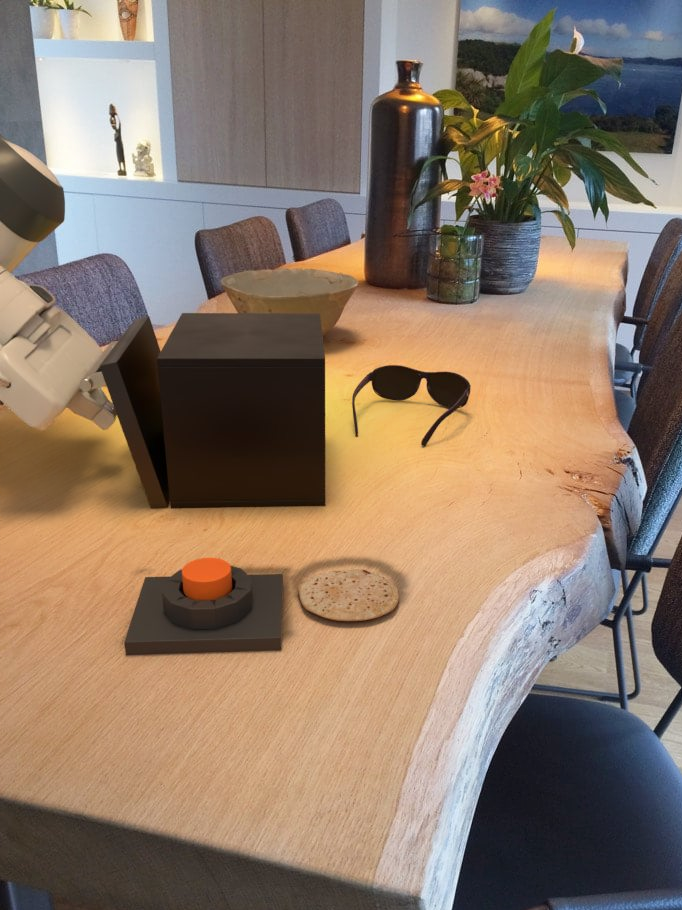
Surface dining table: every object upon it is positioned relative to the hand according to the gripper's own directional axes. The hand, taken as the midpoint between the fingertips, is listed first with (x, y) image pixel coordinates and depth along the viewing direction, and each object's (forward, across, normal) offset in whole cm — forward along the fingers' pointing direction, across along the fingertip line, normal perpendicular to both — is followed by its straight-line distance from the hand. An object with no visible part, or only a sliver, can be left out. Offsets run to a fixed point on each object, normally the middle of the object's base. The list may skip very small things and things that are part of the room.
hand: (113, 421), depth 86 cm
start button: (+11, -29, -6) cm, 31 cm away
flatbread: (+20, -27, -12) cm, 36 cm away
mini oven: (+14, -1, -6) cm, 15 cm away
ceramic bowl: (+17, +54, -10) cm, 58 cm away
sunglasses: (+27, +14, -20) cm, 36 cm away
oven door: (+7, 0, +1) cm, 7 cm away
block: (+12, -29, -4) cm, 32 cm away
